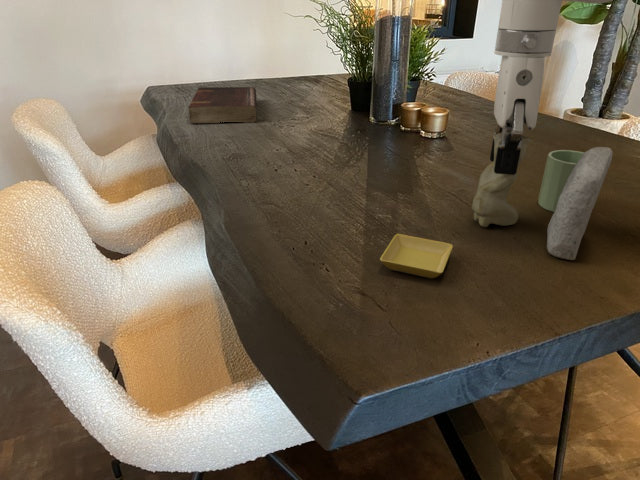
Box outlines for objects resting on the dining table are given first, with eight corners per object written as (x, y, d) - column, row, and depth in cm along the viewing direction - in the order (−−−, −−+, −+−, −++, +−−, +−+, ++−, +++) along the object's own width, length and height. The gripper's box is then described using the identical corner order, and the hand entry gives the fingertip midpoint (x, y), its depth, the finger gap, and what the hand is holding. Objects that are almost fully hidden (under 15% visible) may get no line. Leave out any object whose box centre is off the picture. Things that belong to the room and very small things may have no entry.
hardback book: (257, 122, 141) (256, 104, 138) (190, 124, 139) (188, 106, 137) (256, 100, 166) (255, 85, 164) (200, 102, 164) (198, 87, 162)
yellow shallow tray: (452, 256, 72) (454, 243, 71) (440, 286, 64) (442, 272, 64) (395, 245, 75) (396, 232, 74) (378, 272, 68) (378, 259, 67)
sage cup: (578, 198, 90) (591, 151, 86) (590, 215, 84) (604, 165, 79) (534, 195, 92) (544, 148, 88) (542, 212, 85) (553, 162, 81)
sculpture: (521, 229, 79) (540, 138, 72) (479, 232, 78) (494, 141, 71) (504, 214, 84) (520, 128, 77) (465, 217, 83) (477, 130, 76)
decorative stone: (583, 266, 69) (612, 164, 62) (537, 255, 71) (561, 157, 64) (589, 235, 77) (615, 143, 70) (548, 227, 80) (570, 137, 73)
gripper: (567, 51, 60) (537, 188, 69) (540, 37, 75) (518, 152, 83) (503, 50, 62) (482, 185, 70) (489, 37, 76) (473, 149, 85)
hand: (502, 166), depth 77 cm, fingers closed on sculpture, 5 cm apart
